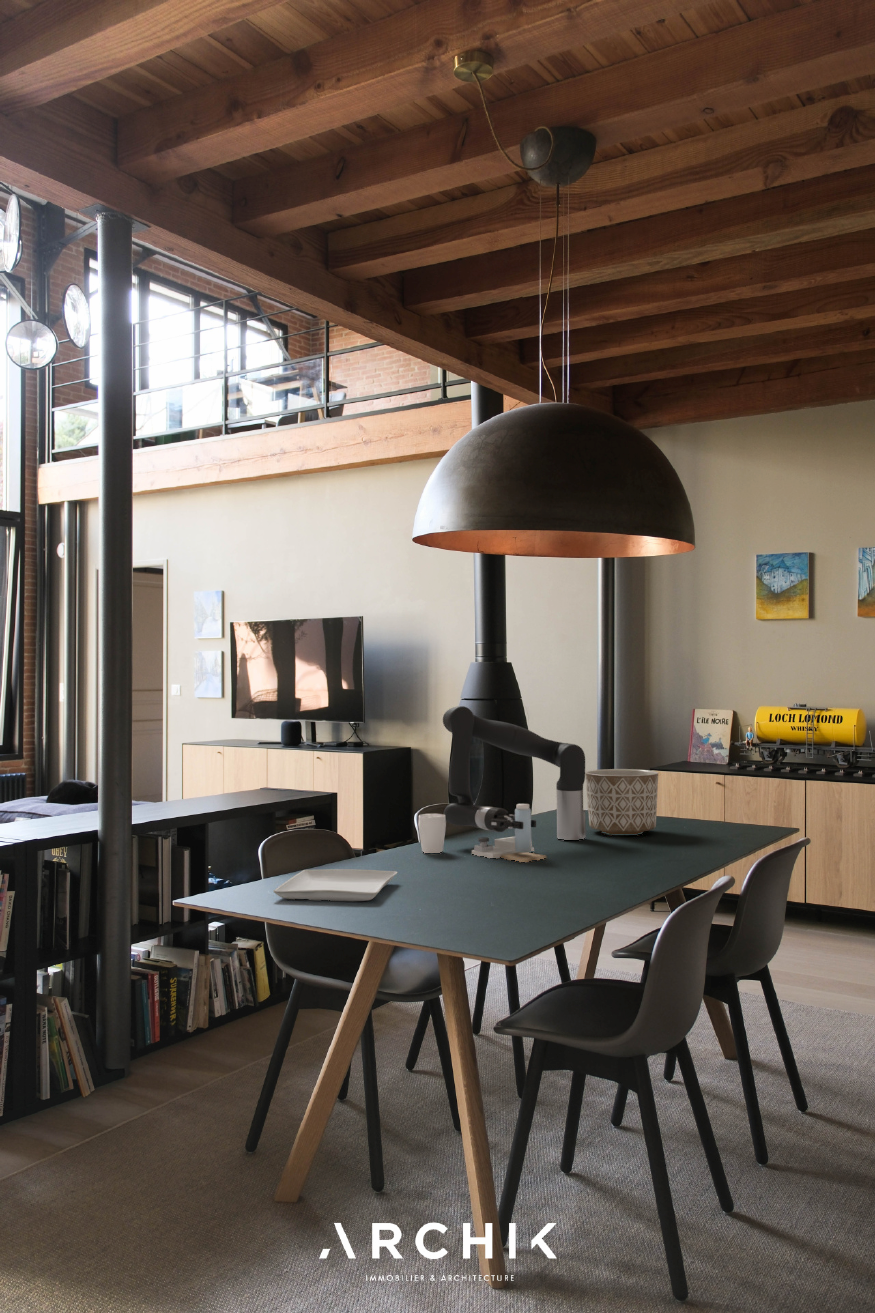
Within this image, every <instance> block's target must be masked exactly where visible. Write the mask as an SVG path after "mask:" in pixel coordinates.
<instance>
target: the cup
mask: <svg viewBox="0 0 875 1313" xmlns="http://www.w3.org/2000/svg"><path fill="white" fill-rule="evenodd" d="M417 823H418V832H419V839H420V845H421V847H420V848H421V852H422V851H423V852H424V853H423V852H422V853H423V854H425V853H440V852H442V851H444V843H445V835H446V829H447V828H446V826H447V821H446V818H445V815H444V813H443V814H442V813H422V814H419V815H418V822H417ZM442 853H443V852H442ZM440 854H441V853H440Z"/></svg>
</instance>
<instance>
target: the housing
mask: <svg viewBox="0 0 875 1313" xmlns="http://www.w3.org/2000/svg"><path fill="white" fill-rule="evenodd" d="M532 842H533V841H532V839H531V851H534V852H535V847H533V845H532V844H533V843H532ZM473 847H474V849H471V855H472V854H474V855H473V856H475V855H477V856H476V857H480V856H484V857H483V858H485V857H487V859H490V858H496V859H501V858H500V857H501V855H506V854H512V853H518V852H516V851H515V836H510V837H509V836H508V837H501V838H496V839H495V838H494V845H492V844H487V846H485V847H482V846H480V844H475V845H474V846H473Z"/></svg>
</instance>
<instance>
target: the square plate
mask: <svg viewBox="0 0 875 1313" xmlns="http://www.w3.org/2000/svg"><path fill="white" fill-rule="evenodd" d="M397 874H398V871H396V870H394V871H393V870H378V869H376V870H375V869H357V868H356V869H355V868H354V869H353V868H350V869H349V868H347V869H345V868H344V869H343V868H339V869H338V868H336V869H335V868H333V869H331V868H330V869H329V868H328V869H303V870H301V871H300V872H298V873H296V874H295V875H294V876H292V877H291V878H289V879H287V880H286V881H285V882H283V883H282V884H280V885H279V886H278V887H276V888H275V889H274V890H273V893H275V895H276V896H278V897H279V898H282V899H285V900H287V899H288V900H295V899H309V900H308V901H321V900H328V901H329V900H330V902H365V901H366V902H369V901H371V900H373V899H374V898H375V897H376V896H377V895H378V893H380V891H381V890H382V889H384V887H385V886H387V885H388V884H389V883H390V882H391V881H392V880H393V879H394V877H395V876H396V875H397ZM328 901H327V902H328Z"/></svg>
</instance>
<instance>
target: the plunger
mask: <svg viewBox="0 0 875 1313" xmlns="http://www.w3.org/2000/svg"><path fill="white" fill-rule="evenodd" d="M477 841H478V842H480V844H479V845H480V846H482V847H485V846H487V845H488V842H490V838H489V837H487V836H486V837H485V836H484V837H483V836H481V837H478V839H477Z"/></svg>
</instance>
